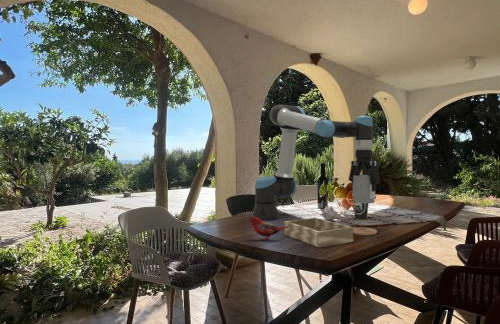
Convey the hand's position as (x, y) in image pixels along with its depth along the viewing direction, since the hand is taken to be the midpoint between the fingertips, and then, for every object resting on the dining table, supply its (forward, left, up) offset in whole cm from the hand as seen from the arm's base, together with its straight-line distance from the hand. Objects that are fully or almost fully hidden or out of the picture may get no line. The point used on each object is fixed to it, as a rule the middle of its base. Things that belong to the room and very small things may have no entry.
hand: (363, 197), depth 160 cm
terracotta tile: (0, 0, -16) cm, 16 cm away
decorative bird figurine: (-9, -46, -17) cm, 50 cm away
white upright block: (0, 0, -2) cm, 2 cm away
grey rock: (-28, +4, -17) cm, 33 cm away
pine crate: (-2, -26, -16) cm, 31 cm away
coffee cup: (-25, +25, -17) cm, 39 cm away
